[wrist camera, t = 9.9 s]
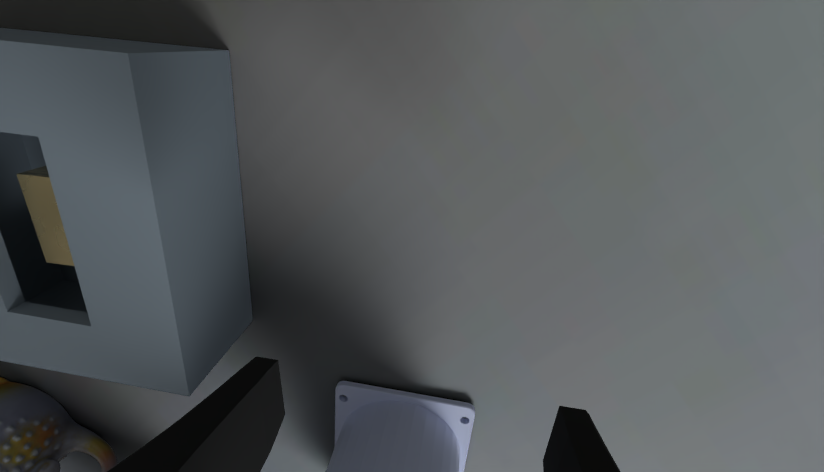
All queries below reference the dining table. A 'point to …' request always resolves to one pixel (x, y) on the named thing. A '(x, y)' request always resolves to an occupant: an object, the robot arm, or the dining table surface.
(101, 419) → the dining table surface
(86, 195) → the grey block with hole
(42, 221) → the brass block
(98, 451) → the mug
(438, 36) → the dining table surface
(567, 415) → the robot arm
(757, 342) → the dining table surface
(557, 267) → the dining table surface
